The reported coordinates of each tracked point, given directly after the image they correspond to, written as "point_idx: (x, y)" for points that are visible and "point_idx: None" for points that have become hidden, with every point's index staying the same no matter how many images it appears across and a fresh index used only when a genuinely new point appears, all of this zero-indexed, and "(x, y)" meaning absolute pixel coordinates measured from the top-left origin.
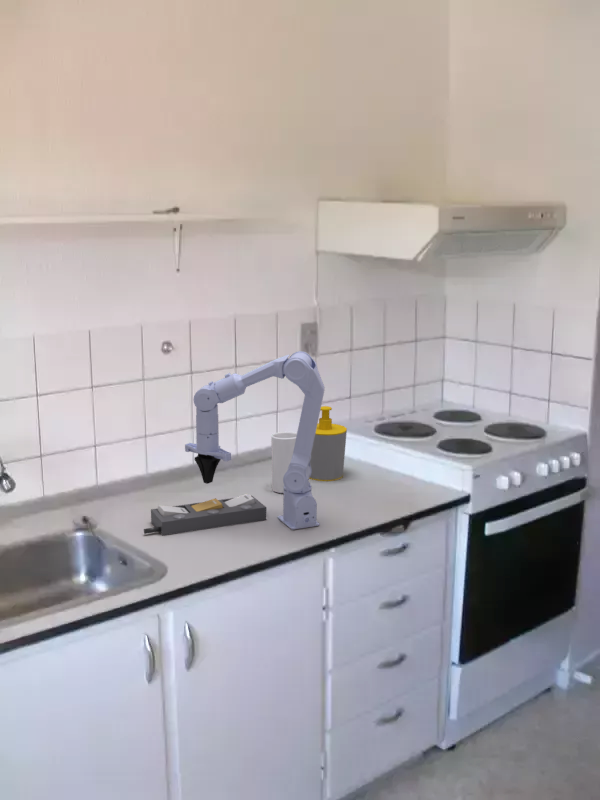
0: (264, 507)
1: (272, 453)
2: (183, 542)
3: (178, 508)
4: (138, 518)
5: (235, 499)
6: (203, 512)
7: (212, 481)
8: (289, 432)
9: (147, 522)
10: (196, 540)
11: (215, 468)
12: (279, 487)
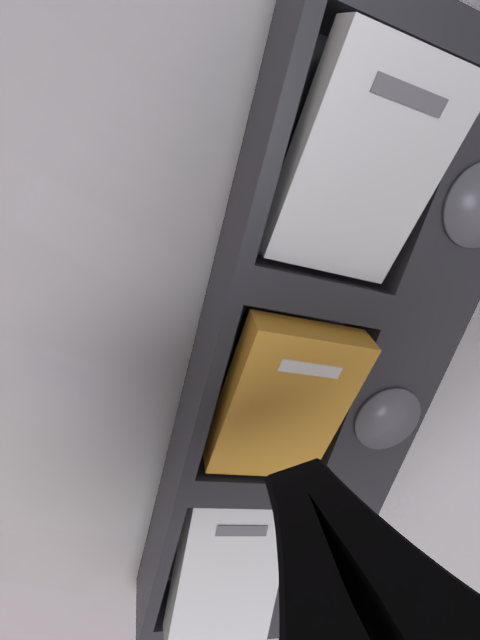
0: None
1: None
2: (400, 532)
3: (210, 544)
4: (54, 610)
5: (329, 175)
6: (352, 460)
7: (324, 463)
8: None
9: (129, 590)
10: (421, 493)
11: (470, 599)
12: None
